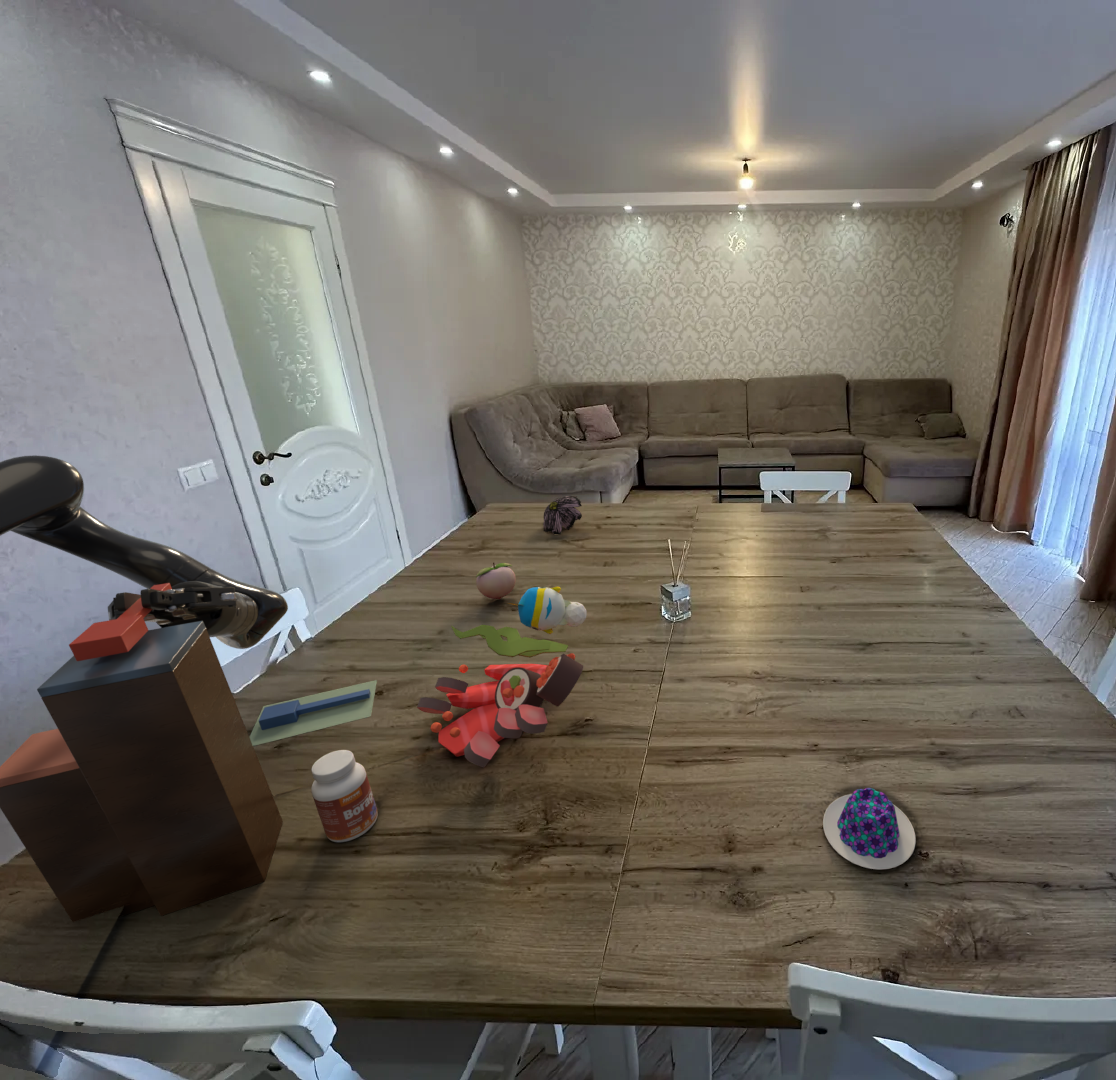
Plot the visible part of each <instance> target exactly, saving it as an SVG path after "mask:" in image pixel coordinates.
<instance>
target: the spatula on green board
mask: <svg viewBox="0 0 1116 1080" xmlns="http://www.w3.org/2000/svg"><path fill="white" fill-rule="evenodd" d="M377 683H378V679H375V680H370V681H367V682H360V683H358V684H357V683H356V684H353V685H349V686H345V687H340V688H336V689H332V690H327V691H323V692H319V693H315V694H310V695H306V696H302V697H297V698H293V699H290V700H284V701H279V702H276V703H271V704H267V705H263V706H262V708H261V711H260V713H259V715H258V717H257V719H256V721H255V724H254V726H253V728H252V731H251V733H250V735H249V738H250V740H251V743H252V745H253V747H255V746H256V747H257V746H259V745H263V744H268V743H272V742H275V741H280V740H284V739H288V738H291V737H296V736H300V735H303V734H308V733H311V732H316V731H319V730H323V729H327V728H331V727H335V726H339V725H344V724H346V723H347V724H348V723H351V722H355V721H359V720H363V719H367V718H370V717H372V712H373V707H374V701H375V694H376V690H377V689H376V688H377ZM367 689H370V693H371V694H370V698H368V699H364V700H359V701H355V702H351V703H347V704H343V705H339V706H335V707H330V708H326V709H322V710H318V711H314V712H310V713H305V714H301V715H299V717H298V720H297V722H294V723H290V724H286V725H282V726H278V727H274V728H269V729H265V730H262V729H261V726H260V724H259V719H260V716H261V714H262V712H263V710H264V708H265V707H269V706H273V705H277V704H282V703H286V702H290V701H295V700H299V703H300V705H303V704H307V703H312V702H316V701H320V700H324V699H329V698H333V697H337V696H341V695H346V694H350V693H354V692H358V691H363V690H367Z"/></svg>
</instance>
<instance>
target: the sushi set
mask: <svg viewBox="0 0 1116 1080" xmlns="http://www.w3.org/2000/svg"><path fill="white" fill-rule="evenodd" d="M561 591H562V588H561V587H560V586H554V587H547V586H535V587H531V588H528V589H527V590H526V591H525V592H524V593H523V595H522V596H521V598H520V600H519V602H518V603H510V602H508V604H509V605H513V606H516V607H517V611H518V612H517V613H518V617H519V620H520V621H519V622H520V623H521V624H522V625H524V626H525V627H527V628H530V629H532V630H535V631H542V632H544V633H546V634H548V635H552V634H553V633H554V630H553V629H555V628H557V627H558V625H559V626H569V627H579V626H581V625H582V624H583V623H584V622H585V620H586V619H587V615H588V614H587V613H588V611H587V610H588V609H586V607H585V606H584V604H583V603H580V602H578V601H570V600H569V599H564V597H563V594H561V593H560V592H561ZM450 627H451V629H452V631H453V633H454V634H455V637H457V638H459V639H460V640H462V639H467V638H472V637H477V636H480V637H481V638H482V639H483V640H485V641H486V645H487V647H488V648H489V649H490V650H491V651H493V652H494V653H495V654H497V655H498V656H501V657H509V658H515V657H524V658H533V657H536V656H539V655H542V654H553V653H555V654H556V653H561V655H560V656H555V657H553V658H552V659H551V660H550V661H549V662H548V664H540V663H507V664H505V663H504V664H489V665H488V666H487V667H485V669H484V675H486V676H488V677H490V678H492V679H494V681H492V680H491V681H486V682H482V683H479V684H475V685H471V686H469V683H468V682H466V681H464V680H461V679H458V678H453V677H447V676H441V677H437V680H436V683H435V686H434V689H436V690H437V691H439V692H440V693H446V694H445V695H446V697H447V699H448V700H449V701H447V700H442V699H439V698H435V697H428V696H427V697H426V696H425V697H423V696H421V697H420V698H419V700H418V703H417V705H416V708H417V709H418V710H419V711H420V712H423V713H428V714H433V715H441V716H442V719H443V721H446V722H450V721H451V720H452V719H453V718H454V714H453V712H451V708H452V707H456V708H460V709H465V710H469V709H470V710H469V711H467V712H466V713H464V714H463V715H461V716H460V717H458V718H457V719H455V720H454V721H452V722H451V723H449V724H447V725H446V726H445V727H443V725H442V723H440V722H437V721H435V722H433V723H432V724H431V725H430V731H431V732H432V733H436V734H437V733H438V743H439V744H440V745H441V746H443V747H444V748H445V749H446V750H447V751H449V752H450V753H451V754H452V755H454V756H455V757H457V758H458V757H461V756H462V757H463V756H464V758H465V759H466V760H467V761H468V762H470V763H471V764H473V765H475V766H478V767H481V768H485V767H486V766H487V764H488V763H489V762H490V761H491V760H492V758H493V756H494V755H495V754H496V753H497V751H498V749H499V748H500V746H501V745H500V744H499V743H498V742H501V741H502V740H504V739H520V738H521V736H522V734H523V732H524V733H526V734H529V735H531V734H532V735H535V734H543V733H545V732H546V729H547V726H548V724H549V722H548V718H547V716H546V712H545V708H544V707H541V706H542V705H543V702H544V701H546V702H548V703H549V704H551V705H553V706H555V707H556V708H558V707H560V706H561V705H562V704H563V703H564V702H565V700H566V699H567V698H568V696H569V695H570V694H571V692H572V690H573V689H574V687H575V686H576V684H577V683H578V681H579V679H580V677H581V675H582V673H583V670H584V665H583V664H582V663H580V662H578V661H577V660H576V655H575V653H573V652H572V653H568V654H565V653H566V652H567V650H568V647H569V645H568V644H565V643H562V642H561V643H560V642H557V641H553V640H549V639H544V638H543V639H536V638H532V637H526V636H524V637H521V635H520V633H519V631H518V628H515V627H510V626H504V627H501V628H498V629H496V628H495V626H493V625H487V624H481V625H478V626H476V627H473V628H470V629H468V630H466V631H461V630H459V629H457V628H455V627H454V626H453V625H451V626H450ZM503 638H505V639H506V640H504V639H503ZM468 670H469V666H468V665H466V664H461V665H460V666H459V667H458V671H459V672H460V673H462V674H465V673H467V672H468Z"/></svg>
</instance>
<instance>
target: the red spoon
mask: <svg viewBox="0 0 1116 1080" xmlns="http://www.w3.org/2000/svg"><path fill="white" fill-rule="evenodd" d="M150 589H155V590H160V591H166V590H168V589H172V588H171V585H170V583H166V584H159V585H154V586H152V587H151V588H150ZM151 610H152V609H148V608H143V606H142V603H141V598H139V599H138V600H137V601H136V602H135V603H134V604H133V605H132V606H131V607H130V608H128V609H127V610H126V611H125V612H124V613H123V614H122V615H121V616H120V617H118V618H117V619H115V620H109V619H108V620H103V621H97V622H94V623H92V624H91V625H90V626H89V627H87V629H85V630H84V631H83V632H82V633H81V634H79V635H78V636H77V637H76V638H75V639H74V640H72V641H71V642H70V643H69V644H68V646H69V648H70V650H71V652H72V653H71V654H73V656H74V657H75V659H76V661H82V660H87V659H93V658H98V657H103V656H109V655H114V654H120V653H125V652H128V651H129V650H130V649H131V648H132V647H133V646H134V645H135V644H136V643H137V642H138V641H139V640H140V639H141V638H142V637H143V636H144V635H145V634H146V632H147V631H148V630H149V628H148V626H147V624H146V621H144V619H143V618H144V617H145V616H146V615H147V614H148V613H149V612H150V611H151Z"/></svg>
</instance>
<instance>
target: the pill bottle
mask: <svg viewBox="0 0 1116 1080" xmlns="http://www.w3.org/2000/svg"><path fill="white" fill-rule="evenodd" d="M366 771H367V770H366V769H365V767H364V765H362V764H361V763H359V762H356V758H355V756H354V753H353V752H352V751H351V750H349V749H339V750H334V751H331V752H328V753H326V754H324V755H323V756H321V757H320V758H318V759H317V760H316V761H315V762H314V763H313V764H312V766H311V774H312V778H313V782H312V784H311V788H310V791H311V796H312V799H313V803H314V805H315V807H316V810H317V814H318V817H319V819H320V822H321V825H322V829H323V831H324V833H325V835H326V837H327V839H328V840H329V841H330V842H334V843H345V842H350V841H352V840H355V839H357V838H359V837H361V836H363V835H364V834H366V833H367V832H369V830H370V829H371V828H372V827H373V826H374V825H375V823H376V822H377V819H378V815H379V813H378V812H379V811H378V808H377V803H376V801H375V797H374V794H373V791H372V788H371V785H370V782H369V781H370V780H369V778H368V774H367V772H366Z"/></svg>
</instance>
